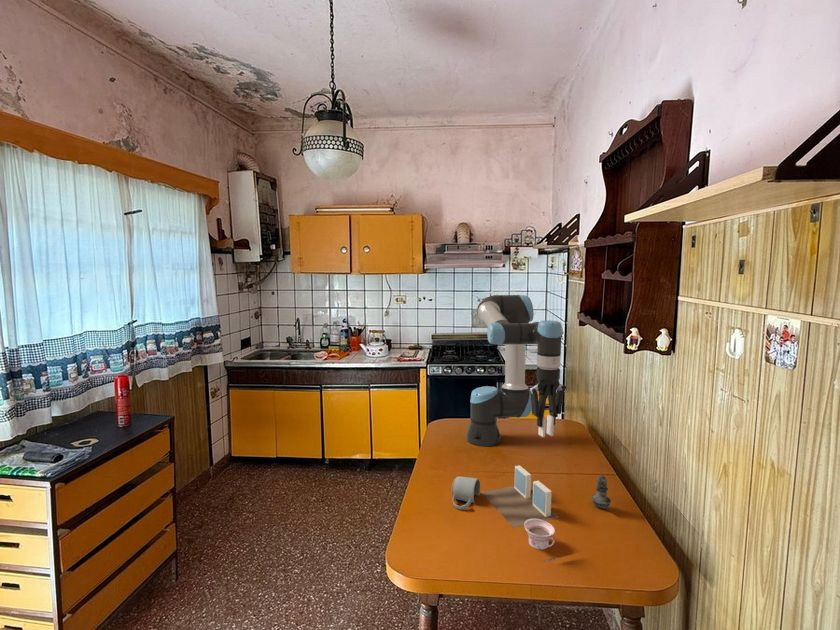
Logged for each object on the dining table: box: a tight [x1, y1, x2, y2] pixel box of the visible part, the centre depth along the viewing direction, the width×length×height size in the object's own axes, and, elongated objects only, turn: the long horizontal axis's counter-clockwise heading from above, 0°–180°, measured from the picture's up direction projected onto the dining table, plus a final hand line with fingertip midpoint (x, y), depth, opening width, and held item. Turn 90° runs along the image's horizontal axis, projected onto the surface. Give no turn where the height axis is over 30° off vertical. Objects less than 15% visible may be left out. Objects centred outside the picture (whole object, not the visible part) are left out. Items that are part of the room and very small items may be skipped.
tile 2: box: [532, 480, 552, 517], centre depth 135 cm, size 7×2×8 cm, turn 19°
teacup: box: [523, 519, 559, 562], centre depth 119 cm, size 12×12×6 cm
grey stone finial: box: [591, 473, 612, 512], centre depth 137 cm, size 6×6×12 cm
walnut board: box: [480, 485, 560, 529], centre depth 139 cm, size 21×16×1 cm
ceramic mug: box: [451, 476, 481, 511], centre depth 142 cm, size 11×8×8 cm
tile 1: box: [513, 464, 532, 498], centre depth 145 cm, size 7×2×8 cm, turn 19°
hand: (545, 434), depth 146 cm, fingers open, 3 cm apart
